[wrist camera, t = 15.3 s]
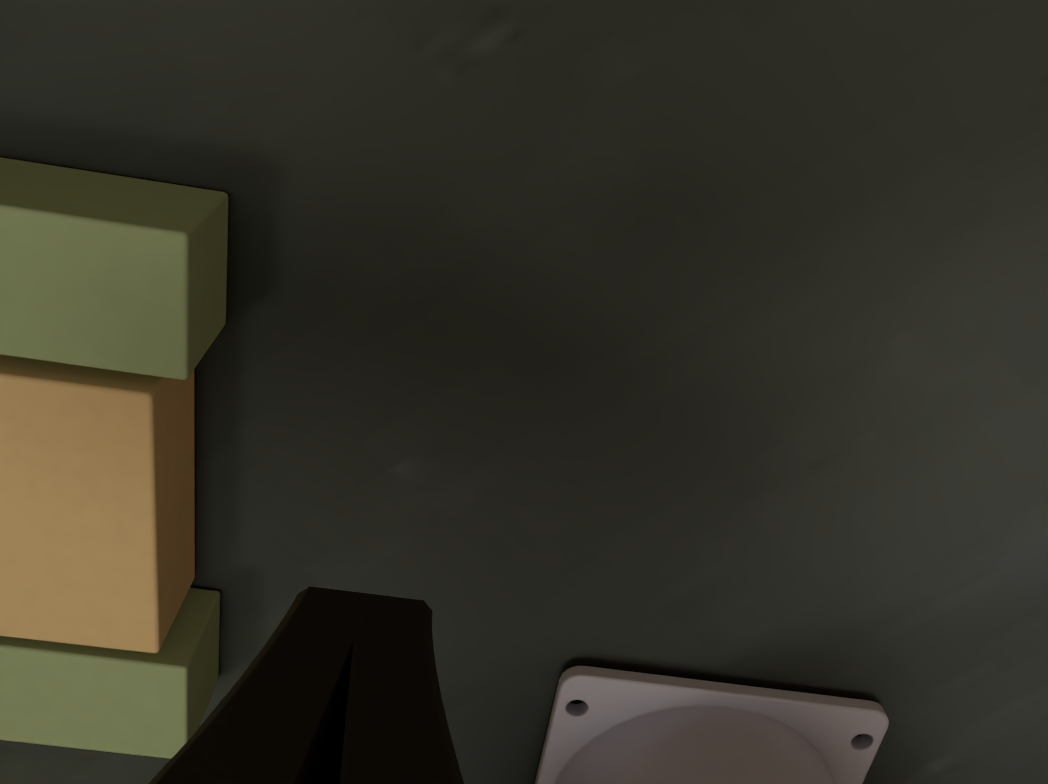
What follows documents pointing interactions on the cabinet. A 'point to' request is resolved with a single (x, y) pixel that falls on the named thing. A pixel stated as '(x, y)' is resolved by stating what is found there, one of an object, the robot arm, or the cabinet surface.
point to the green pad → (122, 345)
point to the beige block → (94, 503)
